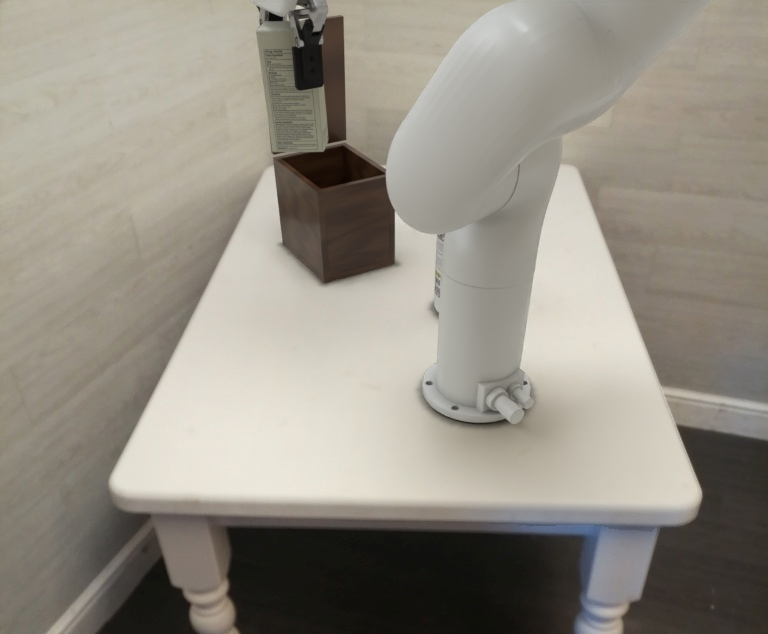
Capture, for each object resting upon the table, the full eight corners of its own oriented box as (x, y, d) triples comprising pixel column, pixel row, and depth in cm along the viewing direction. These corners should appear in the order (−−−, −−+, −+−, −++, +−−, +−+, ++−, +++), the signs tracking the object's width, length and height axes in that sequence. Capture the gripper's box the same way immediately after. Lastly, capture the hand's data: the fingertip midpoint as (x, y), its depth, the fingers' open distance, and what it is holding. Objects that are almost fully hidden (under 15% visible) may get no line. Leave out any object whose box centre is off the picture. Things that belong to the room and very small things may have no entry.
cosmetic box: (329, 140, 86) (322, 19, 77) (324, 154, 83) (316, 29, 74) (276, 139, 87) (263, 18, 78) (269, 152, 83) (254, 28, 75)
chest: (395, 264, 108) (395, 174, 99) (324, 283, 104) (317, 192, 95) (349, 227, 117) (345, 142, 108) (282, 243, 113) (272, 157, 104)
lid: (343, 16, 96) (326, 6, 99) (261, 27, 92) (245, 17, 95) (346, 140, 107) (330, 128, 110) (273, 154, 103) (259, 142, 106)
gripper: (204, -141, 71) (232, 66, 84) (278, -128, 61) (298, 106, 73) (274, -145, 74) (291, 56, 86) (356, -133, 63) (362, 94, 76)
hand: (294, 78), depth 80 cm, fingers closed on cosmetic box, 6 cm apart
